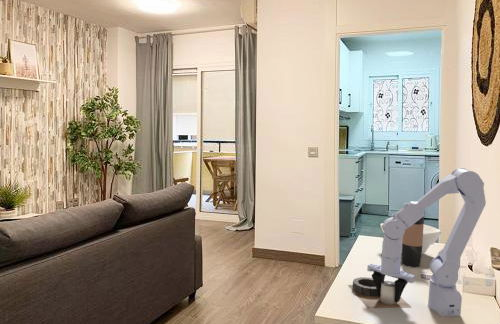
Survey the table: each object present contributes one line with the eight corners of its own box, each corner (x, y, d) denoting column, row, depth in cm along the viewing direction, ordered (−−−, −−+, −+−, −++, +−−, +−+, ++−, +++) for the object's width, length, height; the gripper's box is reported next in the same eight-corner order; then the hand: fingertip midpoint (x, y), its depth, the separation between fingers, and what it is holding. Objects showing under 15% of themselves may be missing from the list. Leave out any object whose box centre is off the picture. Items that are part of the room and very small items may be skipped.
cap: (399, 304, 130) (400, 286, 129) (384, 304, 129) (385, 286, 129) (392, 297, 135) (393, 280, 134) (377, 298, 134) (378, 280, 134)
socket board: (411, 310, 128) (412, 299, 128) (367, 311, 127) (368, 300, 126) (385, 286, 146) (386, 277, 146) (347, 287, 145) (347, 277, 145)
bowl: (372, 247, 194) (373, 222, 193) (409, 243, 203) (410, 220, 202) (407, 262, 174) (408, 235, 173) (446, 257, 182) (448, 231, 181)
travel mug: (422, 263, 173) (425, 216, 171) (419, 268, 166) (422, 219, 164) (402, 260, 177) (406, 213, 175) (399, 265, 170) (402, 216, 168)
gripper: (419, 259, 129) (416, 301, 130) (375, 248, 138) (373, 288, 140) (410, 264, 123) (407, 308, 125) (365, 253, 133) (362, 294, 134)
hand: (388, 298), depth 132 cm, fingers closed on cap, 5 cm apart
